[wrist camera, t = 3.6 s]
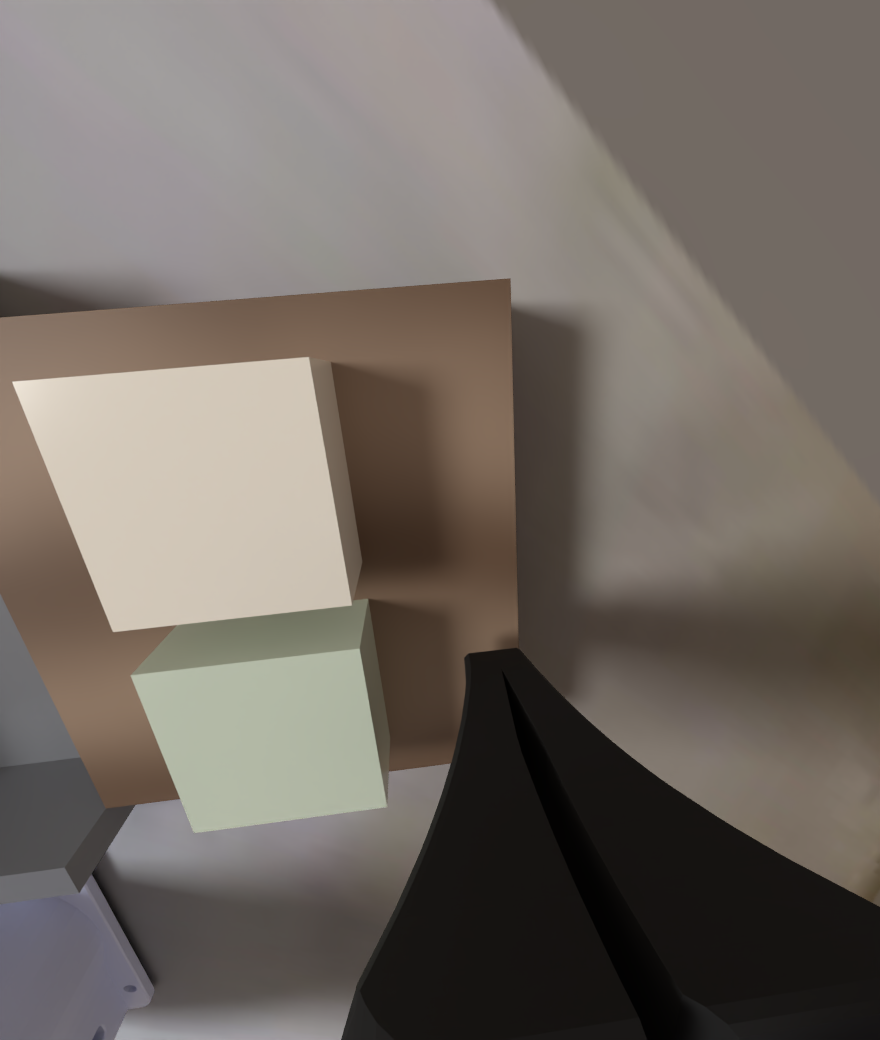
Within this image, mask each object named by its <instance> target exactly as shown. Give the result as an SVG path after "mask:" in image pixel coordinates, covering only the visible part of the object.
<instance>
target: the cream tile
mask: <svg viewBox="0 0 880 1040" xmlns="http://www.w3.org/2000/svg"><path fill="white" fill-rule="evenodd" d="M12 383H13V385H14V388H15V390H16V393H17V395H18V398H19V400H20V403H21V405H22V408H23V410H24V413H25V415H26V418H27V420H28V423H29V425H30V428H31V430H32V433H33V435H34V438H35V440H36V443H37V445H38V447H39V450H40V452H41V455H42V457H43V460H44V462H45V465H46V467H47V470H48V472H49V475H50V477H51V480H52V482H53V485H54V487H55V490H56V492H57V495H58V497H59V500H60V502H61V505H62V507H63V509H64V512H65V514H66V517H67V519H68V522H69V524H70V527H71V529H72V532H73V534H74V537H75V539H76V542H77V544H78V547H79V549H80V552H81V554H82V557H83V559H84V562H85V564H86V567H87V569H88V571H89V574H90V576H91V579H92V581H93V584H94V586H95V589H96V591H97V594H98V596H99V599H100V601H101V604H102V606H103V609H104V611H105V614H106V616H107V619H108V621H109V624H110V626H111V629H112V631H113V632H119V631H128V630H137V629H146V628H155V627H164V626H173V625H182V624H191V623H199V622H208V621H217V620H226V619H235V618H244V617H253V616H262V615H271V614H280V613H289V612H298V611H307V610H316V609H324V608H333V607H342V606H351V605H352V603H353V599H354V595H355V591H356V587H357V583H358V578H359V574H360V570H361V566H362V557H361V550H360V544H359V538H358V531H357V525H356V519H355V513H354V506H353V500H352V494H351V487H350V481H349V475H348V468H347V462H346V456H345V449H344V443H343V437H342V431H341V424H340V418H339V412H338V405H337V399H336V393H335V386H334V380H333V374H332V368H331V362H329V361H324V360H320V359H316V358H311V357H302V358H290V359H278V360H266V361H254V362H242V363H231V364H219V365H207V366H195V367H183V368H171V369H159V370H147V371H135V372H123V373H111V374H99V375H87V376H75V377H63V378H51V379H39V380H27V381H15V382H12Z"/></svg>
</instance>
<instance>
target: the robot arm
mask: <svg viewBox="0 0 880 1040" xmlns="http://www.w3.org/2000/svg"><path fill="white" fill-rule="evenodd" d="M464 664H465V678H466V688H465V698H464V704H463V711H462V718H461V723H460V728H459V732H458V737H457V741H456V746H455V750H454V754H453V758H452V762H451V765H450V769H449V772H448V776H447V779H446V782H445V785H444V789H443V792H442V795H441V798H440V801H439V804H438V806H437V809H436V812H435V815H434V818H433V820H432V823H431V826H430V829H429V831H428V834H427V837H426V839H425V842H424V844H423V847H422V849H421V852H420V854H419V856H418V858H417V861H416V863H415V865H414V868H413V870H412V872H411V874H410V877H409V879H408V881H407V884H406V886H405V888H404V890H403V893H402V895H401V897H400V900H399V902H398V904H397V906H396V908H395V910H394V912H393V915H392V917H391V919H390V921H389V923H388V925H387V927H386V928H385V930H384V932H383V934H382V936H381V938H380V940H379V942H378V944H377V946H376V948H375V950H374V952H373V954H372V956H371V958H370V960H369V962H368V964H367V966H366V968H365V970H364V972H363V974H362V976H361V978H360V980H359V982H358V984H357V987H356V991H355V994H354V998H353V1001H352V1004H351V1008H350V1011H349V1015H348V1018H347V1021H346V1025H345V1028H344V1032H343V1035H342V1039H341V1040H880V907H879V906H877V905H875V904H873V903H871V902H869V901H867V900H866V899H864V898H862V897H860V896H858V895H856V894H854V893H852V892H850V891H848V890H847V889H845V888H843V887H841V886H839V885H837V884H835V883H833V882H831V881H829V880H828V879H826V878H824V877H822V876H820V875H818V874H816V873H814V872H812V871H810V870H808V869H807V868H805V867H803V866H801V865H799V864H797V863H795V862H793V861H791V860H790V859H788V858H786V857H784V856H782V855H781V854H779V853H777V852H775V851H774V850H772V849H770V848H769V847H767V846H765V845H763V844H762V843H760V842H758V841H757V840H755V839H753V838H752V837H750V836H748V835H746V834H745V833H743V832H741V831H740V830H738V829H736V828H734V827H733V826H731V825H730V824H728V823H726V822H725V821H723V820H722V819H720V818H718V817H717V816H715V815H714V814H712V813H711V812H709V811H708V810H706V809H705V808H703V807H702V806H700V805H699V804H697V803H695V802H694V801H692V800H691V799H689V798H688V797H686V796H685V795H683V794H682V793H680V792H679V791H677V790H676V789H674V788H673V787H671V786H670V785H668V784H667V783H665V782H664V781H663V780H661V779H660V778H659V777H657V776H656V775H654V774H653V773H652V772H650V771H649V770H648V769H646V768H645V767H644V766H642V765H641V764H640V763H638V762H637V761H636V760H635V759H633V758H632V757H631V756H629V755H628V754H627V753H626V752H624V751H623V750H622V749H621V748H619V747H618V746H617V745H616V744H615V743H613V742H612V741H611V740H610V739H609V738H607V737H606V736H605V735H604V734H603V733H602V732H601V731H599V730H598V729H597V728H596V727H595V726H594V725H593V724H592V723H590V722H589V721H588V720H587V719H586V718H585V717H584V716H583V715H582V714H581V713H580V712H578V711H577V710H576V709H575V708H574V707H573V706H572V705H571V704H570V703H569V702H568V701H567V700H566V699H565V698H564V697H563V696H562V695H561V694H560V693H559V692H558V691H557V690H556V689H555V688H554V687H553V686H552V685H551V684H550V683H549V682H548V681H547V680H546V678H545V677H544V676H543V675H542V674H541V673H540V672H539V671H538V670H537V669H536V668H535V667H534V665H533V664H532V663H531V662H530V661H529V660H528V659H527V657H526V656H525V655H524V654H523V653H522V652H521V651H520V650H519V649H518V648H509V649H501V650H492V651H484V652H476V653H468V654H467V655H466V656H465V657H464ZM154 992H155V990H154V987H153V985H152V983H151V981H150V979H149V978H148V976H147V974H146V972H145V970H144V968H143V967H142V965H141V963H140V961H139V959H138V958H137V956H136V954H135V952H134V950H133V948H132V947H131V945H130V943H129V941H128V939H127V937H126V936H125V934H124V932H123V930H122V928H121V926H120V925H119V923H118V921H117V919H116V917H115V916H114V914H113V912H112V910H111V908H110V906H109V905H108V903H107V901H106V899H105V897H104V895H103V894H102V892H101V890H100V888H99V886H98V884H97V883H96V881H95V879H94V877H93V875H92V874H91V876H90V877H89V879H88V880H87V882H86V884H85V885H84V887H83V888H82V890H81V891H80V893H78V894H71V895H64V896H57V897H49V898H42V899H35V900H28V901H21V902H14V903H7V904H0V1040H114V1039H115V1036H116V1034H117V1032H118V1030H119V1027H120V1025H121V1023H122V1021H123V1018H124V1016H125V1014H126V1012H127V1010H129V1009H135V1008H142V1007H145V1006H147V1005H148V1004H149V1003H150V1002H151V999H152V997H153V994H154Z"/></svg>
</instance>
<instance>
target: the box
mask: <svg viewBox="0 0 880 1040" xmlns="http://www.w3.org/2000/svg"><path fill="white" fill-rule="evenodd" d="M134 806H135V805H129V806H122V807H114V808H107V809H106V808H105V806H104V804H103V802H102V800H101V798H100V796H99V794H98V792H97V790H96V788H95V786H94V784H93V782H92V780H91V778H90V776H89V773H88V771H87V769H86V767H85V765H84V763H83V761H82V759H81V757H80V755H79V753H78V751H77V749H76V747H75V745H74V743H73V741H72V739H71V737H70V735H69V733H68V731H67V729H66V727H65V725H64V723H63V721H62V719H61V717H60V714H59V712H58V710H57V708H56V706H55V704H54V702H53V700H52V698H51V696H50V694H49V692H48V690H47V688H46V686H45V684H44V682H43V680H42V678H41V676H40V674H39V672H38V670H37V668H36V666H35V664H34V662H33V660H32V657H31V655H30V653H29V651H28V649H27V647H26V645H25V643H24V641H23V639H22V637H21V635H20V633H19V631H18V629H17V627H16V625H15V623H14V621H13V619H12V617H11V615H10V613H9V611H8V609H7V607H6V605H5V603H4V601H3V598H2V596H1V594H0V904H7V903H14V902H21V901H28V900H35V899H42V898H49V897H57V896H64V895H71V894H78V893H80V891H81V890H82V888H83V887H84V885H85V884H86V882H87V880H88V879H89V877H90V876H91V874H92V873H93V871H94V869H95V868H96V866H97V865H98V863H99V862H100V860H101V858H102V857H103V855H104V854H105V852H106V850H107V849H108V847H109V846H110V844H111V843H112V841H113V839H114V838H115V836H116V835H117V833H118V832H119V830H120V828H121V827H122V825H123V824H124V822H125V821H126V819H127V817H128V816H129V814H130V813H131V811H132V810H133V808H134Z"/></svg>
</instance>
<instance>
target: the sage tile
mask: <svg viewBox="0 0 880 1040" xmlns="http://www.w3.org/2000/svg"><path fill="white" fill-rule="evenodd" d="M130 676H131V678H132V681H133V683H134V686H135V688H136V691H137V693H138V695H139V698H140V700H141V703H142V705H143V708H144V710H145V713H146V715H147V718H148V720H149V723H150V725H151V728H152V730H153V733H154V735H155V738H156V740H157V743H158V745H159V748H160V750H161V753H162V755H163V757H164V760H165V762H166V765H167V767H168V770H169V772H170V775H171V777H172V780H173V782H174V785H175V787H176V790H177V792H178V795H179V797H180V800H181V802H182V805H183V807H184V810H185V812H186V815H187V817H188V819H189V822H190V824H191V827H192V829H193V832H194V833H199V832H207V831H214V830H221V829H229V828H236V827H244V826H251V825H258V824H266V823H273V822H281V821H288V820H295V819H303V818H310V817H318V816H325V815H332V814H340V813H347V812H355V811H362V810H369V809H377V808H384V807H387V800H388V778H389V755H390V733H389V727H388V721H387V714H386V708H385V702H384V695H383V689H382V683H381V676H380V670H379V664H378V658H377V651H376V645H375V639H374V632H373V626H372V620H371V613H370V607H369V601H368V599H362V600H353V603H352V605H351V606H342V607H333V608H324V609H316V610H307V611H298V612H289V613H280V614H271V615H262V616H253V617H244V618H235V619H226V620H217V621H208V622H199V623H191V624H182V625H177V626H176V627H175V628H174V629H173V630H172V631H171V632H170V633H169V634H168V636H167V637H166V638H165V639H164V640H163V641H162V642H161V643H160V644H159V645H158V646H157V647H156V648H155V649H154V651H153V652H152V653H151V654H150V655H149V656H148V657H147V658H146V659H145V660H144V661H143V662H142V663H141V665H140V666H139V667H138V668H137V669H136V670H135V671H134V672H133V673H132V674H131V675H130Z"/></svg>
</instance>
